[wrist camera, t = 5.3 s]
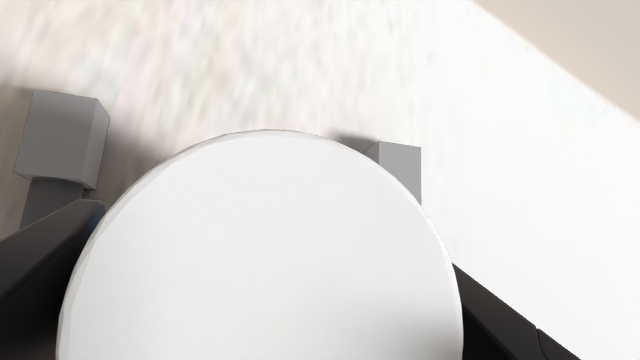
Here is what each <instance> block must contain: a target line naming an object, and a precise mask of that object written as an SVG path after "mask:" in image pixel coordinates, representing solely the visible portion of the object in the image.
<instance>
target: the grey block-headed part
mask: <svg viewBox="0 0 640 360" xmlns="http://www.w3.org/2000/svg"><path fill="white" fill-rule="evenodd" d="M109 121H110V116H109V115H108V113H107V112H106V110H105V109H104V108H103V106H102V105H101V103H100V102H99V100H98V99H96V98H89V97H82V96H75V95H68V94H62V93H55V92H48V91H41V90H34V93H33V97H32V100H31V104H30V108H29V112H28V116H27V120H26V124H25V128H24V132H23V136H22V140H21V144H20V148H19V152H18V156H17V160H16V164H15V168H14V172H13V173H15V174H17V175H20V176H22V177H24V178H26V179H28V180H30V181H31V183H30V188H29V192H28V196H27V200H26V204H25V209H24V213H23V217H22V221H21V225H20V229H19V230H21V229H23V228H25V227H27V226H29V225H31V224H33V223H34V222H36V221H38V220H40V219H42V218H44V217H46V216H48V215H50V214H51V213H53V212H55V211H57V210H59V209H61V208H63V207H65V206H66V205H68V204H70V203H72V202H74V201H76V200H78V199H82V195H83V191H84V188H85V189H96V187H97V182H98V177H99V172H100V166H101V161H102V156H103V151H104V146H105V141H106V136H107V131H108V126H109Z"/></svg>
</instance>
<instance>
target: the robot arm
mask: <svg viewBox="0 0 640 360" xmlns="http://www.w3.org/2000/svg"><path fill="white" fill-rule="evenodd" d="M104 215H105V208H104V204H103V202H102V201H100V200H90V199H78V200H76V201H74V202H72V203H70V204H68V205H66V206H65V207H63V208H61V209H59V210H57V211H55V212H53V213H51V214H50V215H48V216H46V217H44V218H42V219H40V220H38V221H36V222H34V223H33V224H31V225H29V226H27V227H25V228H23V229H21V230H19V231H17V232H16V233H14V234H12V235H10V236H8V237H6V238H4V239H2V240H1V241H0V360H56V341H57V332H58V323H59V314H60V311H61V307H62V304H63V300H64V296H65V293H66V290H67V287H68V284H69V281H70V278H71V275H72V272H73V270H74V267H75V265H76V263H77V261H78V259H79V257H80V255H81V253H82V251H83V249H84V247H85V245H86V243H87V241H88V239H89V237H90V236H91V234H92V233H93V231H94V230H95V228H96V226H97V225H98V223H99V222H100V220H101V219H102V218H103V216H104ZM451 263H452V262H451ZM452 266H453V269H454V272H455V276H456V281H457V286H458V291H459V296H460V301H461V307H462V322H463V351H462V360H581V359H579V358H578V357H577V356H575V355H574V354H573V353H571V352H570V351H568V350H567V349H566V348H564V347H563V346H562V345H560V344H559V343H558V342H556V341H555V340H554V339H552V338H551V337H550V336H548V335H547V334H546V333H544V332H543V331H542V330H540V329H536V326H535V325H534V324H532V323H531V322H530V321H528V320H527V319H526V318H524V317H523V316H522V315H520V314H519V313H518V312H516V311H515V310H514V309H512V308H511V307H510V306H509V305H507V304H506V303H505V302H503V301H502V300H501V299H499V298H498V297H497V296H495V295H494V294H493V293H491V292H490V291H489V290H487V289H486V288H485V287H483V286H482V285H481V284H479V283H478V282H477V281H475V280H474V279H473V278H471V277H470V276H469V275H468V274H466V273H465V272H464V271H462V270H461V269H460V268H458V267H457V266H456V265H454V264H453V263H452Z"/></svg>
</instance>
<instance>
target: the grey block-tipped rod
mask: <svg viewBox="0 0 640 360" xmlns="http://www.w3.org/2000/svg"><path fill="white" fill-rule="evenodd" d="M363 155H365V156H367V157H368V158H370V159H371V160H373V161H374V162H376V163H377V164H378V165H380V166H381V167H382V168H384V169H385V170H386V171H387V172H389V173H390V174H391V175H393V176H394V177H395V178H396V179H397V180H398V181H399V182H400V183H401V184H402V185H403V186H404V187H405V188H406V189H407V190H408V191H409V192H410V193H411V194H412V195H413V196H414V198H415V199H416V200H417V202H418V203H419V204H420V205H421V147H415V146H409V145H403V144H396V143H390V142H383V141H379V142H377V143H376V144H374V145H373V146H372V147H370V148H369V149H368V150H366V151H365V152H364V153H363Z"/></svg>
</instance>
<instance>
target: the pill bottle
mask: <svg viewBox="0 0 640 360" xmlns="http://www.w3.org/2000/svg"><path fill="white" fill-rule="evenodd" d="M462 351H463V322H462V307H461V301H460V296H459V291H458V286H457V281H456V276H455V272H454V269H453V266H452V263H451V261H450V258H449V256H448V254H447V251H446V249H445V247H444V244H443V242H442V240H441V238H440V236H439V234H438V232H437V231H436V229H435V227H434V225H433V223H432V222H431V220H430V218H429V216H428V215H427V213H426V212H425V211H424V209H423V208H422V207H421V205H420V204H419V203H418V202H417V200H416V199H415V198H414V196H413V195H412V194H411V193H410V192H409V191H408V190H407V189H406V188H405V187H404V186H403V185H402V184H401V183H400V182H399V181H398V180H397V179H396V178H395V177H394V176H393V175H391V174H390V173H389V172H387V171H386V170H385V169H384V168H382V167H381V166H380V165H378V164H377V163H376V162H374V161H373V160H371V159H370V158H368V157H367V156H365V155H363V154H361V153H359V152H358V151H356V150H353V149H351V148H349V147H347V146H345V145H343V144H341V143H338V142H336V141H333V140H331V139H328V138H324V137H321V136H318V135H313V134H307V133H302V132H298V131H290V130H267V129H263V130H253V131H244V132H238V133H231V134H224V135H221V136H218V137H215V138H212V139H210V140H207V141H204V142H201V143H198V144H195V145H193V146H190V147H188V148H186V149H184V150H182V151H180V152H178V153H177V154H175V155H173V156H171V157H169V158H167V159H166V160H164V161H163V162H161V163H160V164H158V165H157V166H155V167H154V168H152V169H151V170H149V171H148V172H147V173H145V174H144V175H143V176H142V177H141V178H140V179H138V180H137V181H136V182H135V183H134V184H133V185H131V186H130V187H129V188H128V189H127V190H126V191H125V192H124V193H123V194H122V195H121V197H120V198H119V199H118V200H117V201H116V202H115V203H114V204H113V206H112V207H111V208H110V209H109V210H108V211H107V213H106V214H105V215H104V216H103V218H102V219H101V220H100V222H99V223H98V225H97V226H96V228H95V230H94V231H93V233H92V234H91V236H90V237H89V239H88V241H87V243H86V245H85V247H84V249H83V251H82V253H81V255H80V257H79V259H78V261H77V263H76V265H75V267H74V270H73V272H72V275H71V278H70V281H69V284H68V287H67V290H66V293H65V296H64V300H63V304H62V307H61V311H60V314H59V323H58V332H57V341H56V360H462Z"/></svg>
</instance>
